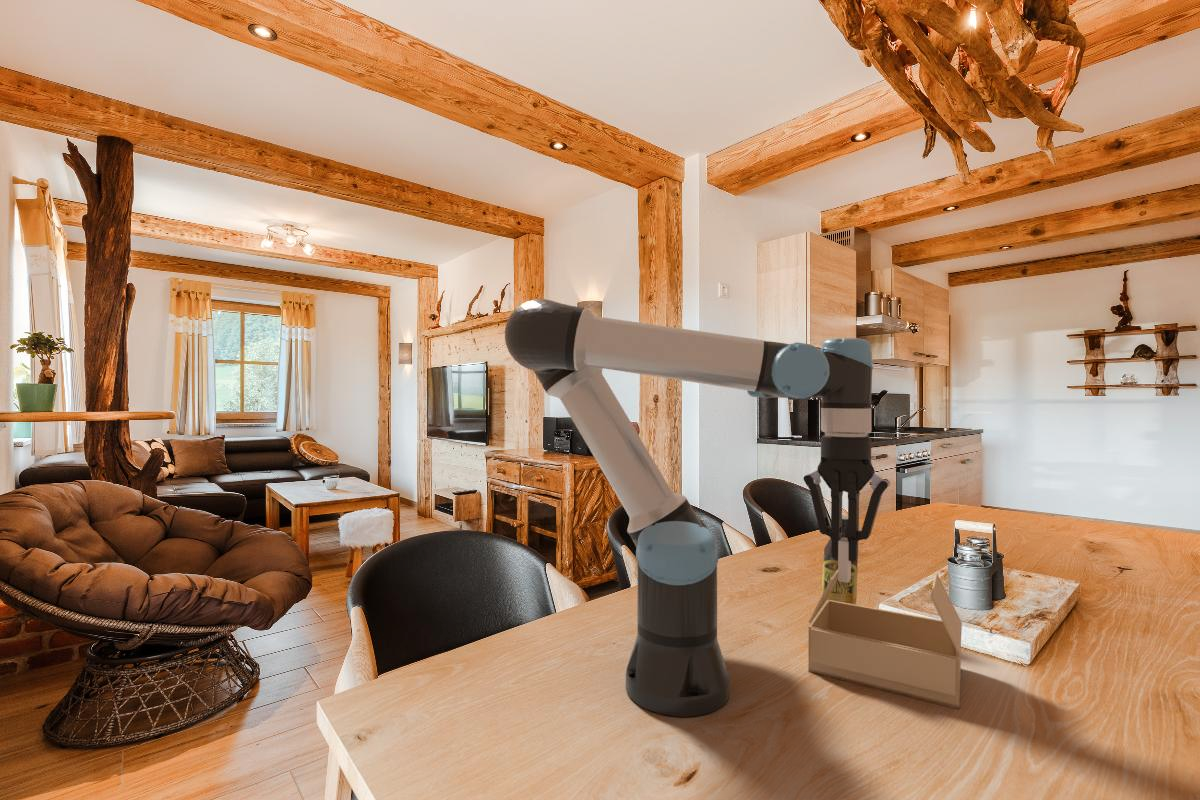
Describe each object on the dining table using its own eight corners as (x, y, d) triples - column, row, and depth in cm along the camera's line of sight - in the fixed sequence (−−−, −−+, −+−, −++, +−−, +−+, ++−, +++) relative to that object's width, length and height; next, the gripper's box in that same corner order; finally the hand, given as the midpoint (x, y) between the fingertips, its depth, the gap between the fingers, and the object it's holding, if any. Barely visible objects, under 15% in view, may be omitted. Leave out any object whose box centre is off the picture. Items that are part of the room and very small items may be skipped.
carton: (959, 710, 79) (959, 659, 79) (807, 672, 90) (807, 627, 90) (960, 667, 91) (960, 623, 91) (827, 638, 102) (827, 599, 102)
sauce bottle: (819, 621, 110) (819, 517, 110) (823, 610, 115) (823, 511, 115) (856, 628, 107) (856, 521, 107) (858, 616, 112) (859, 514, 112)
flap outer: (960, 653, 80) (932, 596, 81) (958, 653, 80) (930, 597, 82) (961, 622, 90) (937, 573, 92) (959, 623, 90) (935, 573, 92)
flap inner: (810, 623, 90) (832, 580, 89) (808, 622, 91) (830, 579, 89) (827, 599, 101) (846, 560, 99) (825, 598, 101) (845, 559, 99)
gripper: (893, 435, 93) (891, 580, 93) (809, 431, 100) (808, 567, 100) (887, 437, 87) (885, 594, 87) (798, 434, 94) (797, 578, 94)
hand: (844, 579), depth 93 cm, fingers closed
